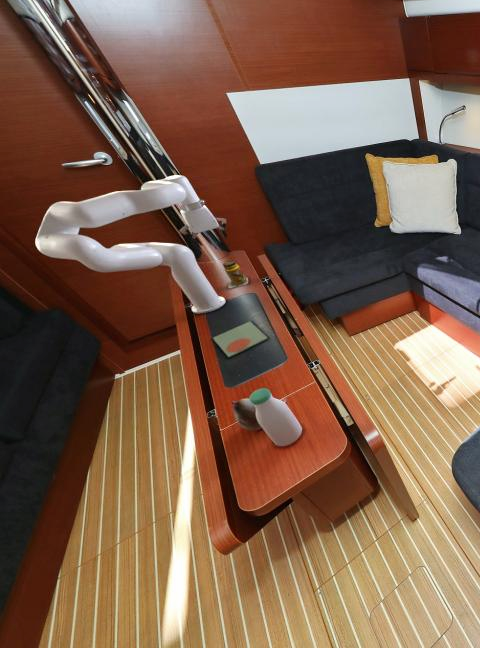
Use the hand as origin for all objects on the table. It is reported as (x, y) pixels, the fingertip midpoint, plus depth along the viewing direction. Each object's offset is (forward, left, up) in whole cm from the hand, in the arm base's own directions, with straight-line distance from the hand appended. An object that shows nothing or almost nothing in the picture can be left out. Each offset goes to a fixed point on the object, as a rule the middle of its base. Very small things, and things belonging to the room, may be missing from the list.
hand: (213, 241), depth 153 cm
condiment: (-3, 0, -25) cm, 25 cm away
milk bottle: (+109, -24, -25) cm, 114 cm away
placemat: (+47, -16, -25) cm, 55 cm away
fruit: (+97, -27, -25) cm, 104 cm away
